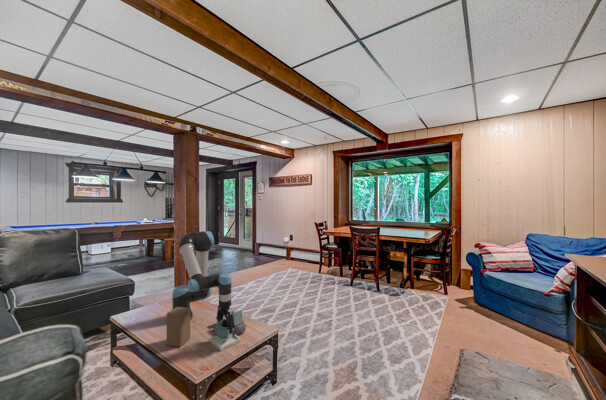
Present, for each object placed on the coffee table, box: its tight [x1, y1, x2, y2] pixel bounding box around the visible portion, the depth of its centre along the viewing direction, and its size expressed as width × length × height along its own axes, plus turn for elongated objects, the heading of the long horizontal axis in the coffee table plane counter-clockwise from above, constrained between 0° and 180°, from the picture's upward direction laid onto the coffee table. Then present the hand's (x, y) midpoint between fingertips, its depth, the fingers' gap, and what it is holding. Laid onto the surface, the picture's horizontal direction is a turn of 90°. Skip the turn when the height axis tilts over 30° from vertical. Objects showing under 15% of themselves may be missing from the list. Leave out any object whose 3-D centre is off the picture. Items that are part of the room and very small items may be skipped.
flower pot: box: [215, 319, 235, 340], centre depth 158 cm, size 9×9×9 cm
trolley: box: [223, 309, 247, 337], centre depth 172 cm, size 19×9×15 cm, turn 46°
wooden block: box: [165, 307, 191, 348], centre depth 159 cm, size 10×10×20 cm
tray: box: [209, 335, 242, 352], centre depth 159 cm, size 13×13×2 cm
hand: (225, 334), depth 159 cm, fingers closed on flower pot, 10 cm apart
